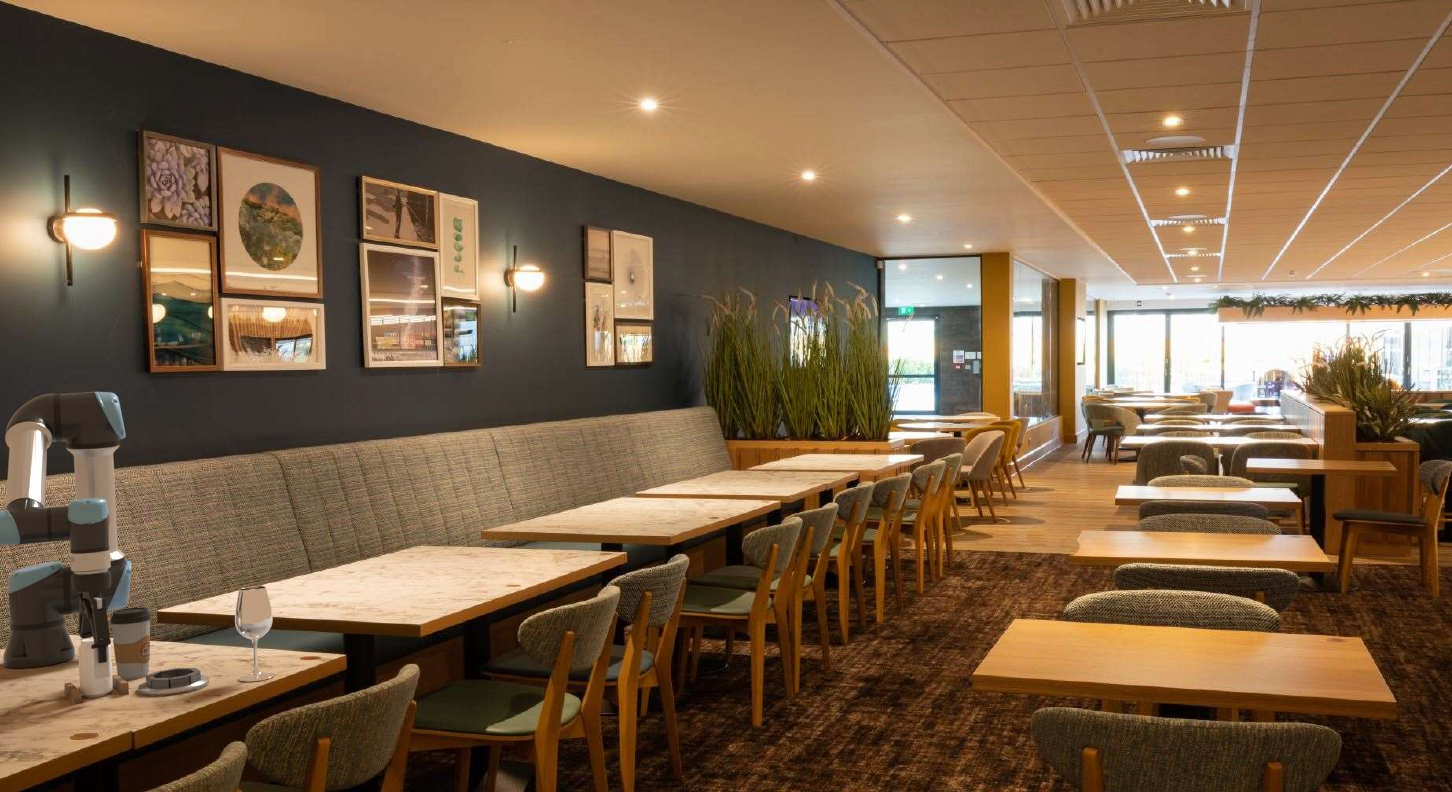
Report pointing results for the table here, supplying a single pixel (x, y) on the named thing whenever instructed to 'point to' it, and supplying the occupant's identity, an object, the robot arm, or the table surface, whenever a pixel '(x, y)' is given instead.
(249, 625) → the wineglass
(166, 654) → the table surface
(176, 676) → the hub collar
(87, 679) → the beverage can
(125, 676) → the coffee cup
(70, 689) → the walnut cradle
